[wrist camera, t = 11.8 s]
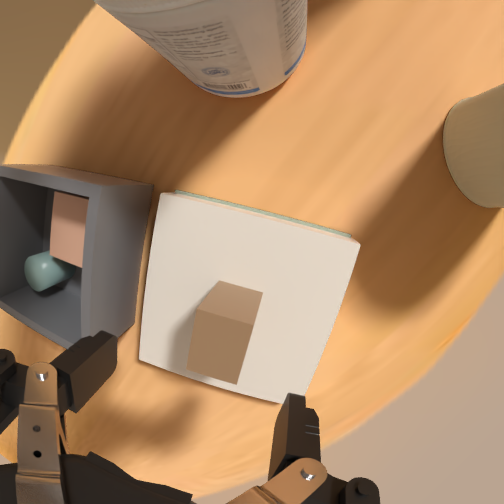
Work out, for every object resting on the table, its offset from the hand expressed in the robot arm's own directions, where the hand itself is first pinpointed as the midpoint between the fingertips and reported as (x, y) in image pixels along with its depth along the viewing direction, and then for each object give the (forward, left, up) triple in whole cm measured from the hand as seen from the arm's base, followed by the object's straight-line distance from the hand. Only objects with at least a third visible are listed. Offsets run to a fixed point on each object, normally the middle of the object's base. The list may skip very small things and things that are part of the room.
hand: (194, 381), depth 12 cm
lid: (0, 0, -11) cm, 11 cm away
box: (-1, -14, -11) cm, 18 cm away
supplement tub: (-19, -4, -11) cm, 22 cm away
